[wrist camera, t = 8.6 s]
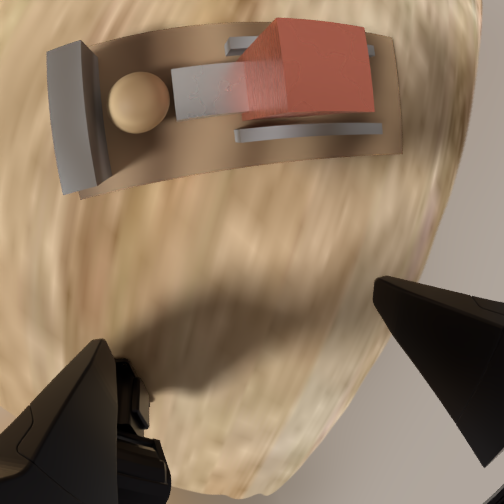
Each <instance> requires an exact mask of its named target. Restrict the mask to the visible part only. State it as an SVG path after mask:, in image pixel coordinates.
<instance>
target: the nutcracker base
mask: <svg viewBox="0 0 504 504" xmlns="http://www.w3.org/2000/svg"><path fill="white" fill-rule="evenodd" d="M271 23H272V22H238V23H217V24H204V25H194V26H185V27H177V28H170V29H164V30H157V31H152V32H146V33H141V34H136V35H131V36H127V37H123V38H118V39H114V40H110V41H106V42H103V43H99V44H95V45H92V46H89V47H87V46H86V45H85V44H84V43H83V42H82V41H81V40H79V41H76V42H73V43H70V44H67V45H64V46H61V47H58V48H56V49H53V50H50V51H48V52H47V84H48V99H49V110H50V120H51V128H52V136H53V143H54V149H55V156H56V161H57V167H58V172H59V178H60V183H61V187H62V192H63V195H66V194H69V193H73V192H76V191H79V196H80V200H82V199H85V198H89V197H93V196H97V195H101V194H105V193H110V192H114V191H118V190H123V189H127V188H132V187H136V186H141V185H145V184H150V183H155V182H160V181H165V180H170V179H176V178H181V177H187V176H192V175H198V174H204V173H210V172H216V171H223V170H229V169H236V168H243V167H250V166H258V165H266V164H274V163H283V162H292V161H301V160H312V159H323V158H335V157H350V156H366V155H388V154H403V145H402V122H401V107H400V96H399V85H398V76H397V68H396V61H395V54H394V48H393V41H392V38H391V37H387V36H382V35H377V34H372V33H367V32H365V35H366V42H367V48H368V55H369V62H370V69H371V78H372V87H373V97H374V108H375V112H362V113H342V114H328V115H316V116H305V117H289V118H273V119H261V120H250V121H242V114H232V115H224V116H215V117H208V118H201V119H194V120H187V121H181V122H177V120H176V112H175V104H174V95H173V86H172V77H171V69H176V68H183V67H191V66H199V65H208V64H218V63H230V62H236V61H237V59H238V58H239V57H240V56H241V55H242V54H243V53H244V52H245V50H246V49H247V48H248V47H249V46H250V45H251V44H252V43H253V42H254V41H255V40H256V38H257V37H258V36H259V35H260V34H261V33H262V32H263V31H264V30H265V29H266V28H267V27H268V26H269V25H270V24H271Z"/></svg>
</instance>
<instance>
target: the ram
mask: <svg viewBox="0 0 504 504" xmlns="http://www.w3.org/2000/svg"><path fill="white" fill-rule="evenodd" d="M171 77H172V86H173V95H174V104H175V112H176V120H177V122H181V121H187V120H194V119H201V118H208V117H215V116H224V115H232V114H242V121H250V120H261V119H273V118H289V117H305V116H316V115H328V114H342V113H362V112H375V108H374V97H373V87H372V78H371V69H370V62H369V55H368V48H367V42H366V35H365V30H364V27H358V26H353V25H347V24H340V23H333V22H325V21H316V20H306V19H293V18H276V19H275V20H274V21H273V22H272V23H271V24H270V25H269V26H268V27H267V28H266V29H265V30H264V31H263V32H262V33H261V34H260V35H259V36H258V37H257V38H256V40H255V41H254V42H253V43H252V44H251V45H250V46H249V47H248V48H247V49H246V50H245V52H244V53H243V54H242V55H241V56H240V57H239V58H238V59H237V61H236V62H230V63H218V64H208V65H199V66H191V67H183V68H176V69H171Z"/></svg>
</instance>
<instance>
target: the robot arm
mask: <svg viewBox="0 0 504 504" xmlns="http://www.w3.org/2000/svg"><path fill="white" fill-rule="evenodd" d="M373 303H374V306H375V307H376V309H377V311H378V312H379V314H380V315H381V317H382V319H383V320H384V322H385V324H386V325H387V327H388V329H389V330H390V332H391V333H392V335H393V336H394V338H395V339H396V341H397V342H398V343H399V345H400V346H401V347H402V349H403V350H404V351H405V353H406V354H407V355H408V357H409V358H410V359H411V361H412V362H413V363H414V365H415V366H416V368H417V369H418V370H419V372H420V373H421V374H422V376H423V377H424V379H425V380H426V381H427V383H428V384H429V386H430V387H431V389H432V390H433V391H434V392H435V394H436V395H437V397H438V398H439V400H440V401H441V403H442V404H443V406H444V407H445V409H446V410H447V412H448V413H449V415H450V416H451V418H452V419H453V420H454V422H455V423H456V425H457V426H458V428H459V430H460V431H461V433H462V434H463V436H464V437H465V439H466V441H467V442H468V444H469V445H470V447H471V448H472V450H473V451H474V453H475V455H476V456H477V458H478V459H479V461H480V463H481V464H482V466H483V467H484V468H485V467H486V466H488V464H490V463H491V462H492V461H493V460H494V459H495V458H496V457H497V456H498V455H499V454H500V453H501V452H502V451H503V450H504V303H502V302H497V301H492V300H488V299H483V298H479V297H475V296H472V297H471V296H470V295H466V294H462V293H458V292H454V291H449V290H445V289H441V288H437V287H433V286H429V285H424V284H420V283H416V282H412V281H408V280H403V279H399V278H395V277H391V276H382V277H379V278H376V280H375V282H374V291H373ZM124 364H127V365H124ZM149 407H150V401H149V394H148V392H147V390H146V388H145V386H144V384H143V382H142V380H141V379H140V378H139V377H137V376H136V373H135V371H134V369H133V367H132V365H131V363H130V361H129V360H128V359H116V360H114V357H113V355H112V353H111V351H110V349H109V346H108V344H107V342H106V341H105V339H95V340H92V341H91V342H90V343H89V344H88V345H87V346H86V347H85V348H84V349H83V350H82V351H81V352H80V353H79V354H78V355H77V356H76V357H75V358H74V359H73V360H72V361H71V362H70V363H69V364H68V365H67V366H66V367H65V368H64V369H63V370H62V371H61V372H60V373H59V374H58V375H57V376H56V377H55V378H54V379H53V380H52V381H51V382H50V383H49V384H48V385H47V386H46V387H45V388H44V389H43V391H42V392H41V393H40V394H39V395H38V396H37V397H36V398H35V399H34V400H33V401H32V402H31V403H30V406H27V408H26V409H25V410H24V411H23V412H22V413H21V414H20V415H19V416H18V417H17V418H16V419H15V420H14V421H13V422H12V423H11V424H10V426H8V427H7V428H6V429H5V430H4V431H3V432H2V433H1V434H0V504H166V502H167V500H168V498H169V495H170V491H171V474H170V471H169V468H168V465H167V462H166V459H165V456H164V453H163V450H162V447H161V443H160V440H157V439H149V438H146V437H144V429H148V428H149ZM483 504H504V484H503V485H502V486H501V487H500V488H499V489H498V490H497V491H496V492H495V493H494V494H493V495H492V496H491V497H490V498H489V499H488V500H486V501H485V502H484V503H483Z"/></svg>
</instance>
